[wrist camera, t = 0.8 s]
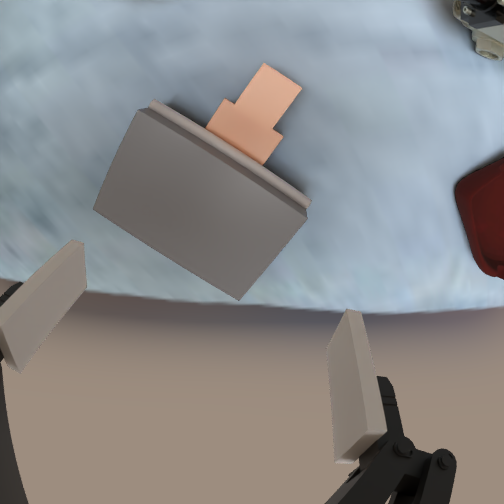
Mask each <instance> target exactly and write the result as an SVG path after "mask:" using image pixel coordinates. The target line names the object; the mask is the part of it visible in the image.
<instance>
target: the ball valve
mask: <svg viewBox="0 0 504 504" xmlns="http://www.w3.org/2000/svg"><path fill="white" fill-rule="evenodd" d="M453 16H454V17H456V18H457V19H458V20H460V21H461V22H462V24H463V25H464V26H465V27H467V28H469V29H471V30H472V40H473V41H474V42H475V43H476V52H477V53H478V54H480V55H482V56H484V57H486V58H489V59H492V60H497V61H501V60H502V59H503V56H504V0H454V2H453Z"/></svg>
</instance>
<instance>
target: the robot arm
mask: <svg viewBox="0 0 504 504" xmlns="http://www.w3.org/2000/svg"><path fill="white" fill-rule="evenodd" d="M86 288H87V281H86V269H85V254H84V243H82V242H79V241H75V240H71V241H70V242H69V243H67V244H66V245H65V246H64V247H63V248H62V249H60V250H59V251H58V252H57V253H56V254H55V255H54V256H53V257H52V258H50V259H49V260H48V261H47V262H46V263H45V264H44V265H43V266H42V267H41V268H40V269H38V270H37V271H36V272H35V273H34V274H33V275H32V276H31V277H30V278H29V279H28V280H27V281H26V282H25V283H22V282H19V283H17V284H15V285H13V286H11V287H10V288H9V289H8V290H7V291H6V292H5V293H4V295H2V296H1V297H0V362H1V361H2V359H3V358H4V359H5V361H6V363H7V366H8V367H9V368H11V369H13V370H15V371H17V372H18V373H21V372H22V370H23V369H24V368H25V366H26V365H27V363H28V362H29V361H30V359H31V358H32V356H33V355H34V354H35V352H36V351H37V350H38V348H39V347H40V346H41V344H42V343H43V342H44V340H45V339H46V338H47V336H48V335H49V334H50V332H51V331H52V330H53V329H54V327H55V326H56V325H57V323H58V322H59V321H60V320H61V318H62V317H63V316H64V315H65V313H66V312H67V311H68V310H69V308H70V307H71V305H73V303H74V302H75V301H76V300H77V298H78V297H79V296H80V295H81V294H82V293H83V291H84V290H85V289H86ZM326 351H327V361H328V372H329V383H330V396H331V410H332V424H333V442H334V462H335V463H347V464H352V463H353V462H354V461H356V460H357V459H358V458H359V463H360V466H359V467H357V468H356V469H355V470H354V471H353V472H351V473H350V474H349V475H348V476H350V477H349V478H348V479H347V480H346V481H345V482H344V483H343V484H342V486H341V487H340V488H339V489H338V490H337V491H336V492H335V493H334V494H333V495H332V496H331V498H330V499H329V500H328V501H327V502H326V503H325V504H385V502H386V501H387V499H388V498H389V497H390V495H391V494H392V495H391V498H390V500H389V503H388V504H449V502H450V497H451V493H452V488H453V483H454V478H455V473H456V467H457V466H456V459H455V456H454V455H453V454H452V453H451V452H450V451H448V450H447V449H438V450H436V451H435V452H434V453H433V454H430V453H427V452H424V451H421V450H418V449H416V448H415V446H414V444H413V442H412V441H411V440H410V439H409V438H407V437H405V436H404V433H403V428H402V424H401V419H400V415H399V410H398V407H397V401H396V399H395V393H394V389H393V386H392V384H391V383H390V381H389V380H388V378H387V377H381V376H376V372H375V367H374V363H373V359H372V355H371V350H370V346H369V342H368V338H367V334H366V330H365V326H364V322H363V318H362V314H361V312H359V311H355V310H350V309H346V311H345V313H344V315H343V317H342V319H341V321H340V323H339V325H338V327H337V329H336V331H335V333H334V335H333V337H332V339H331V341H330V343H329V344H328V346H327V348H326ZM0 504H28V501H27V498H26V494H25V491H24V488H23V484H22V481H21V477H20V474H19V470H18V466H17V462H16V458H15V453H14V449H13V445H12V440H11V435H10V429H9V423H8V417H7V411H6V403H5V395H4V386H3V375H2V367H1V363H0Z"/></svg>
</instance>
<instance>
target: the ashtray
mask: <svg viewBox="0 0 504 504" xmlns="http://www.w3.org/2000/svg"><path fill="white" fill-rule="evenodd" d="M455 198H456V202H457V206H458V209H459V212H460V215H461V218H462V221H463V224H464V228H465V231H466V234H467V237H468V240H469V243H470V247H471V251H472V254H473V257H474V260H475V262H476V263H477V265H478V267H479V268H480V269H481V270H482V271H483V272H484V273H485V274H487V275H489V276H492V277H499V278H501V279H503V280H504V158H502V159H500V160H498V161H496V162H494V163H492V164H490V165H488V166H486V167H484V168H482V169H480V170H477V171H475V172H473V173H471V174H469V175H468V176H467V177H465V178H463V179H462V180H461V181H460V182H459V183H458V185H457V187H456V190H455Z"/></svg>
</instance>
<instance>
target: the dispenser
mask: <svg viewBox="0 0 504 504" xmlns="http://www.w3.org/2000/svg"><path fill="white" fill-rule="evenodd" d="M311 201H312V200H311V199H309V198H308V197H307V196H305V195H304V194H302V193H301V192H300V191H298V190H297V189H295V188H294V187H293V186H291V185H290V184H288V183H287V182H285V181H284V180H283V179H281V178H280V177H278V176H277V175H275V174H274V173H272V172H271V171H269V170H268V169H266V168H265V167H263V166H262V165H260V164H259V163H257V162H256V161H254V160H253V159H251V158H250V157H248V156H247V155H245V154H244V153H242V152H241V151H239V150H238V149H236V148H235V147H233V146H232V145H230V144H228V143H227V142H225V141H224V140H222V139H221V138H219V137H217V136H216V135H214V134H213V133H211V132H209V131H208V130H206V129H205V128H203V127H201V126H200V125H198V124H196V123H195V122H193V121H191V120H190V119H188V118H187V117H185V116H183V115H181V114H180V113H178V112H176V111H175V110H173V109H171V108H170V107H168V106H166V105H164V104H163V103H161V102H159V101H158V100H156V99H154V100H153V101H152V102H151V103H150V105H149V107H148V108H144V109H139V110H137V112H136V114H135V116H134V118H133V120H132V122H131V124H130V126H129V128H128V130H127V132H126V134H125V136H124V138H123V140H122V142H121V144H120V146H119V149H118V151H117V153H116V155H115V157H114V159H113V162H112V164H111V166H110V168H109V171H108V173H107V175H106V178H105V180H104V182H103V185H102V187H101V190H100V192H99V194H98V197H97V199H96V202H95V205H94V207H93V210H95V211H96V212H98V213H99V214H101V215H102V216H104V217H105V218H107V219H108V220H110V221H111V222H113V223H114V224H116V225H117V226H119V227H120V228H122V229H123V230H125V231H126V232H128V233H130V234H131V235H133V236H134V237H136V238H137V239H139V240H140V241H142V242H143V243H145V244H147V245H148V246H150V247H151V248H153V249H154V250H156V251H158V252H159V253H161V254H162V255H164V256H166V257H167V258H169V259H170V260H172V261H174V262H175V263H177V264H178V265H180V266H182V267H183V268H185V269H187V270H188V271H190V272H191V273H193V274H195V275H196V276H198V277H200V278H201V279H203V280H205V281H206V282H208V283H210V284H211V285H213V286H215V287H216V288H218V289H220V290H221V291H223V292H225V293H226V294H228V295H230V296H231V297H233V298H235V299H237V300H238V301H239V300H240V299H241V298H242V297H243V296H244V294H245V293H246V292H247V291H248V290H249V289H250V287H251V286H252V285H253V284H254V283H255V281H256V280H257V279H258V278H259V277H260V275H261V274H262V273H263V272H264V271H265V270H266V268H267V267H268V266H269V265H270V264H271V262H272V261H273V260H274V259H275V258H276V256H277V255H278V254H279V253H280V252H281V250H282V249H283V248H284V247H285V246H286V244H287V243H288V242H289V241H290V240H291V238H292V237H293V236H294V235H295V233H296V232H297V231H298V230H299V229H300V227H301V226H302V225H303V224H304V223H305V221H306V220H307V219H308V218H307V212H306V209H307V208H308V207H309V205H310V204H311Z"/></svg>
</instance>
